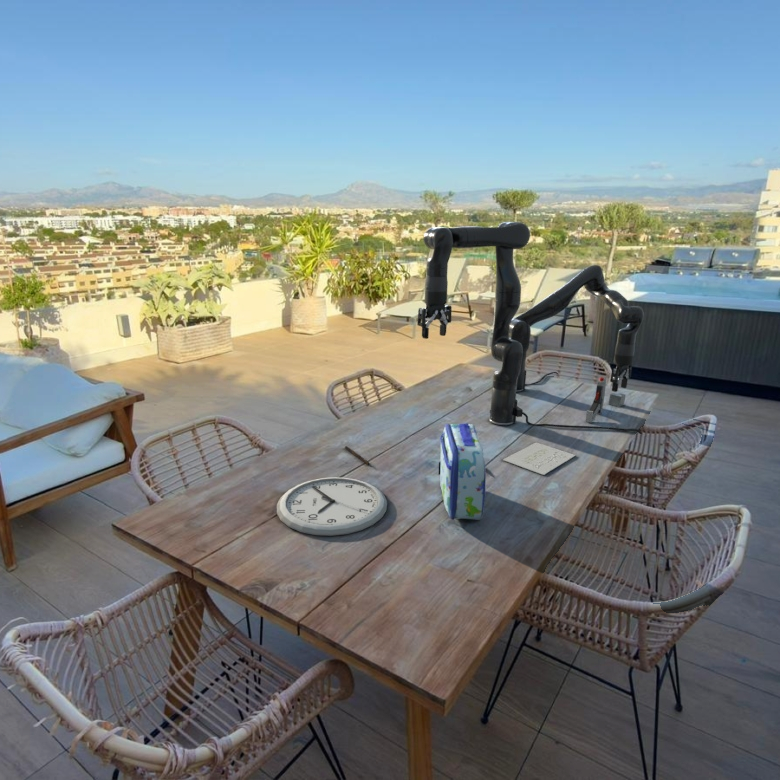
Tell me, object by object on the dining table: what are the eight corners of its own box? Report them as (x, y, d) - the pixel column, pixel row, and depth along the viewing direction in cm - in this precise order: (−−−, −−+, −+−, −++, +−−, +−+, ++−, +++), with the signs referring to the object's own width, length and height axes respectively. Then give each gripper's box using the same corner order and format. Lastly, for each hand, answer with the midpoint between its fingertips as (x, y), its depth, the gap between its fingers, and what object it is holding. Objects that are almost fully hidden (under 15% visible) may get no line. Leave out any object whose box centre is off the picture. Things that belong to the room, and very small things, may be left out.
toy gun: (589, 386, 202) (601, 375, 213) (585, 424, 208) (596, 411, 219) (595, 387, 201) (607, 376, 212) (591, 425, 207) (602, 412, 218)
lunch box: (436, 479, 158) (439, 414, 152) (472, 480, 158) (476, 415, 152) (443, 526, 133) (448, 451, 127) (486, 527, 133) (492, 452, 127)
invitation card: (535, 442, 186) (575, 454, 176) (535, 442, 187) (575, 455, 176) (502, 459, 172) (543, 474, 162) (502, 460, 172) (543, 475, 162)
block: (608, 404, 230) (610, 393, 228) (613, 402, 233) (614, 391, 231) (619, 407, 226) (620, 396, 225) (624, 405, 229) (625, 394, 228)
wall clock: (392, 527, 129) (268, 531, 127) (391, 533, 130) (269, 537, 127) (383, 473, 158) (282, 475, 155) (383, 478, 158) (282, 480, 156)
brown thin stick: (344, 448, 179) (344, 445, 179) (346, 448, 179) (346, 445, 179) (367, 464, 167) (367, 462, 167) (368, 464, 167) (368, 461, 167)
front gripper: (429, 292, 168) (427, 341, 173) (458, 289, 177) (456, 336, 182) (413, 289, 174) (411, 337, 179) (442, 287, 183) (440, 332, 188)
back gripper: (625, 357, 216) (619, 394, 220) (640, 352, 225) (635, 388, 230) (607, 354, 221) (602, 390, 226) (623, 349, 230) (618, 384, 235)
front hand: (434, 336), depth 180 cm, fingers open, 8 cm apart
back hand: (619, 389), depth 228 cm, fingers open, 8 cm apart
